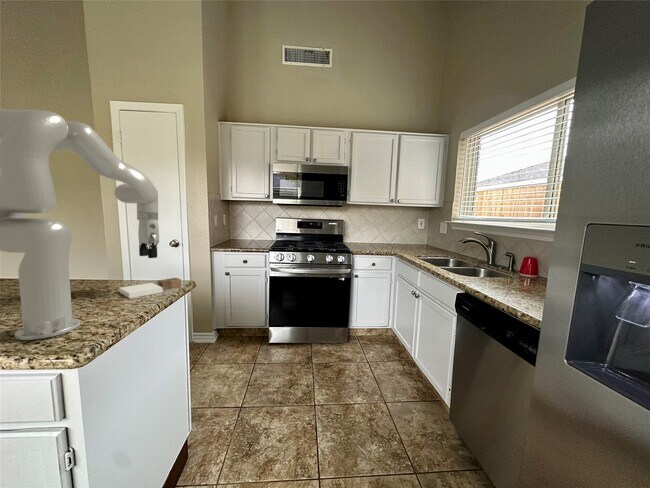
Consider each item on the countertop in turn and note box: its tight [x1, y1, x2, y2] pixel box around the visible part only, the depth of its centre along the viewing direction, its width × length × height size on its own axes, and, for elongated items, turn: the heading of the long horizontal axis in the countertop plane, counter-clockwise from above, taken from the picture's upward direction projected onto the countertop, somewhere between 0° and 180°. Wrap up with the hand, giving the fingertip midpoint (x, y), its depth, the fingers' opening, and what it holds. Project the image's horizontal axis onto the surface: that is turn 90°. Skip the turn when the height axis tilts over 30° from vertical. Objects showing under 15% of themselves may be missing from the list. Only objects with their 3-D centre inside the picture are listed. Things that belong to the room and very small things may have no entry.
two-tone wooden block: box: [157, 277, 183, 291], centre depth 120 cm, size 6×4×8 cm
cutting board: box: [118, 282, 164, 299], centre depth 111 cm, size 12×12×2 cm
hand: (148, 256), depth 112 cm, fingers open, 9 cm apart
